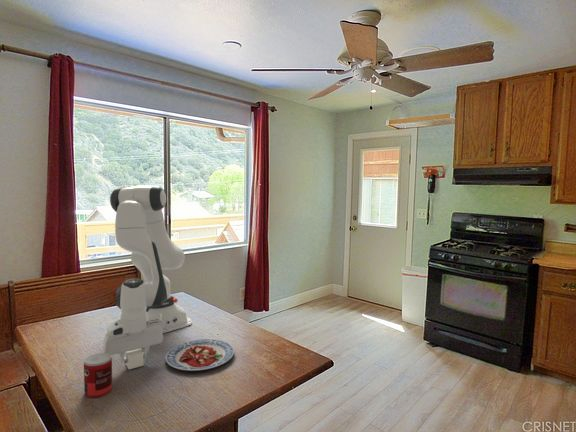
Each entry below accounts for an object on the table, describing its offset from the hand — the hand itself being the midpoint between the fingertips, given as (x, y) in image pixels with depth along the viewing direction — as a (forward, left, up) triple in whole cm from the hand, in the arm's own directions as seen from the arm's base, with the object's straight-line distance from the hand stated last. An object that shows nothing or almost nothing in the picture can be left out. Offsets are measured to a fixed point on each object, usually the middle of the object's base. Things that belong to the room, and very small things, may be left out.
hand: (134, 360), depth 127 cm
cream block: (0, 0, -2) cm, 2 cm away
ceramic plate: (-23, +7, -3) cm, 24 cm away
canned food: (+13, +11, -2) cm, 17 cm away
